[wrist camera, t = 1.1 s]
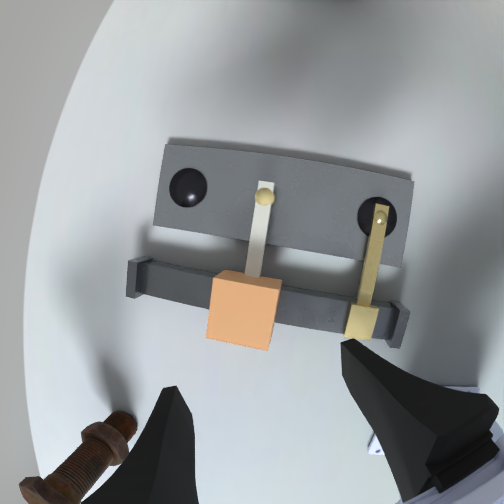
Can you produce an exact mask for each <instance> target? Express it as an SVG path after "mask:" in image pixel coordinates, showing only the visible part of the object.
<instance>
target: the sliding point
mask: <svg viewBox="0 0 504 504" xmlns="http://www.w3.org/2000/svg"><path fill="white" fill-rule="evenodd" d="M274 186H275V183H273V182H266V181H259V183H258V190H257V192H256V194H255V200H256V202H255V209H254V215H253V222H252V228H251V235H250V241H249V248H248V254H247V261H246V268H245V273H241V272H236V271H230V270H224V271H222V272H221V273H219V274H218V275H216V276H215V277H214V278H213V284H212V292H211V300H210V308H209V316H208V324H207V333H206V338H209V339H213V340H217V341H222V342H226V343H231V344H236V345H240V346H245V347H250V348H255V349H260V350H265V351H268V348H269V344H270V341H271V337H272V333H273V327H274V322H275V317H276V311H277V306H278V300H279V295H280V289H281V284H282V280H280V279H274V278H269V277H263V276H260V275H261V269H262V262H263V256H264V250H265V244H266V237H267V231H268V225H269V218H270V212H271V205H272V204H273V203H274V202H275V195H274Z"/></svg>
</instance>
